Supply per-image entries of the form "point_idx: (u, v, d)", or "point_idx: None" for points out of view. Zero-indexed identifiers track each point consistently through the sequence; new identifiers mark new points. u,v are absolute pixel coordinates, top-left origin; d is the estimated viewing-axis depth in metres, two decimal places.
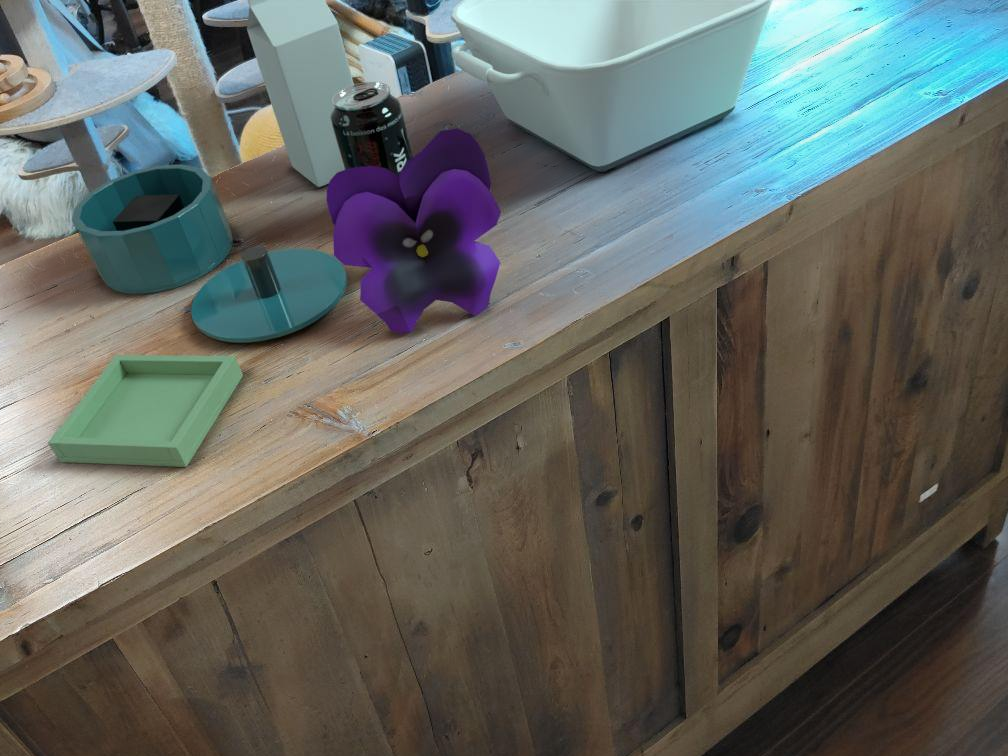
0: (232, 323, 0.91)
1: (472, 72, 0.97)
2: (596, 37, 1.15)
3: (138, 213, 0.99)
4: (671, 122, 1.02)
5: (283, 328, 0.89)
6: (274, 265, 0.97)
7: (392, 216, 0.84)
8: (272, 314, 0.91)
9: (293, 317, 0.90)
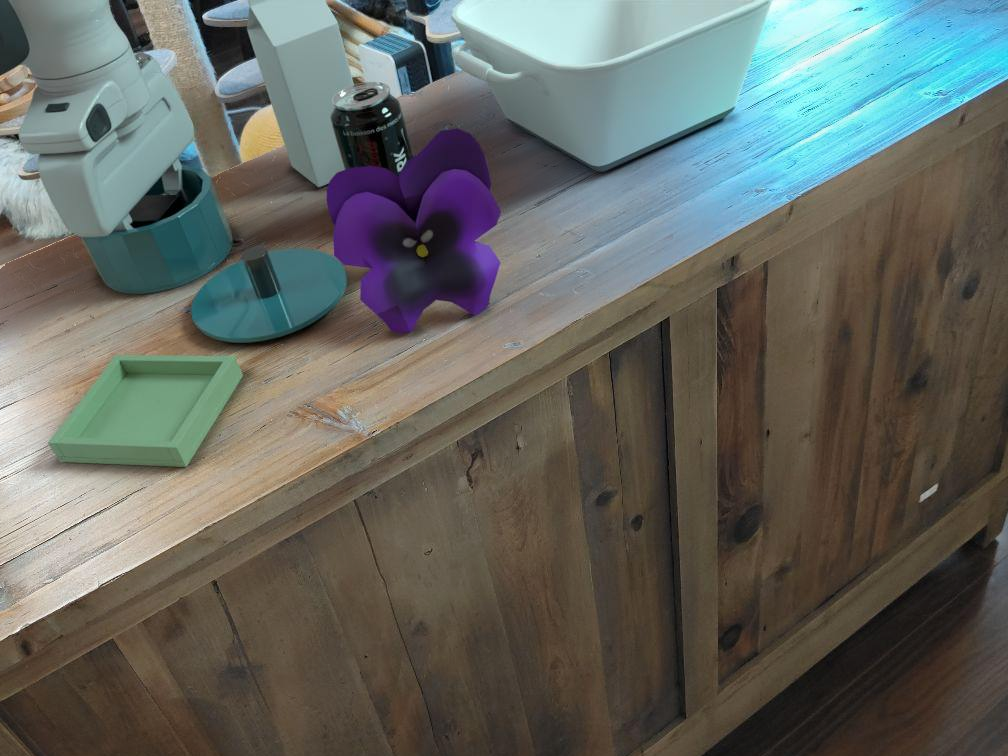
0: (232, 323, 0.91)
1: (472, 72, 0.97)
2: (596, 37, 1.15)
3: (138, 213, 0.99)
4: (671, 122, 1.02)
5: (283, 328, 0.89)
6: (274, 265, 0.97)
7: (392, 216, 0.84)
8: (272, 314, 0.91)
9: (293, 317, 0.90)
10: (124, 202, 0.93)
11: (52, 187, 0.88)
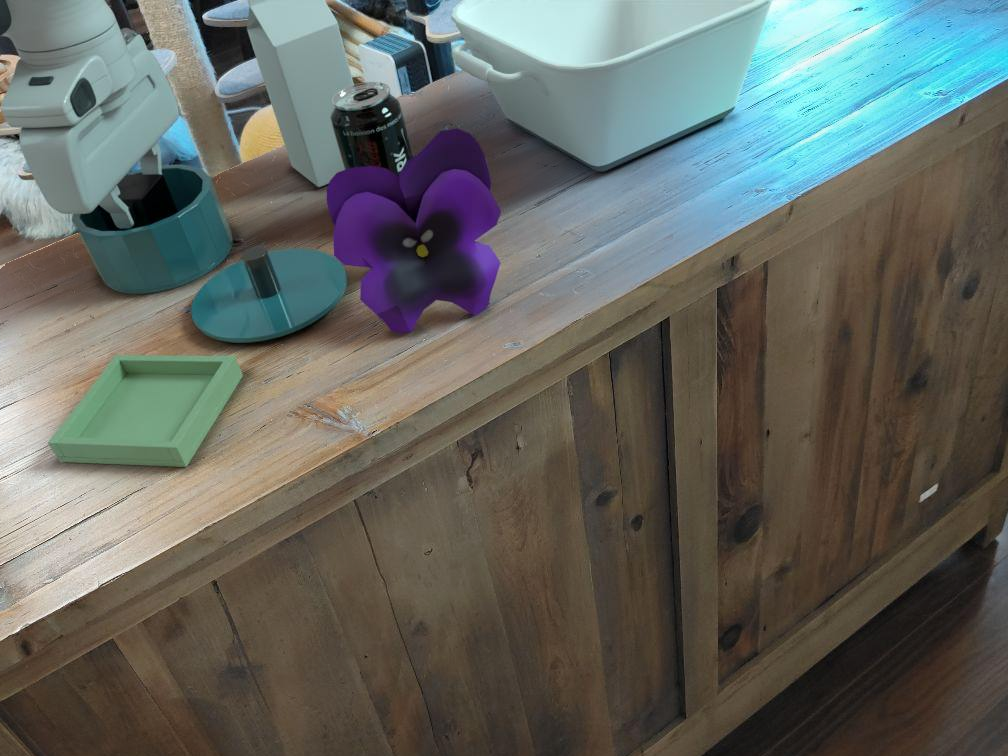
0: (232, 323, 0.91)
1: (472, 72, 0.97)
2: (596, 37, 1.15)
3: (121, 192, 0.98)
4: (671, 122, 1.02)
5: (283, 328, 0.89)
6: (274, 265, 0.97)
7: (392, 216, 0.84)
8: (272, 314, 0.91)
9: (293, 317, 0.90)
10: (107, 179, 0.92)
11: (34, 162, 0.87)
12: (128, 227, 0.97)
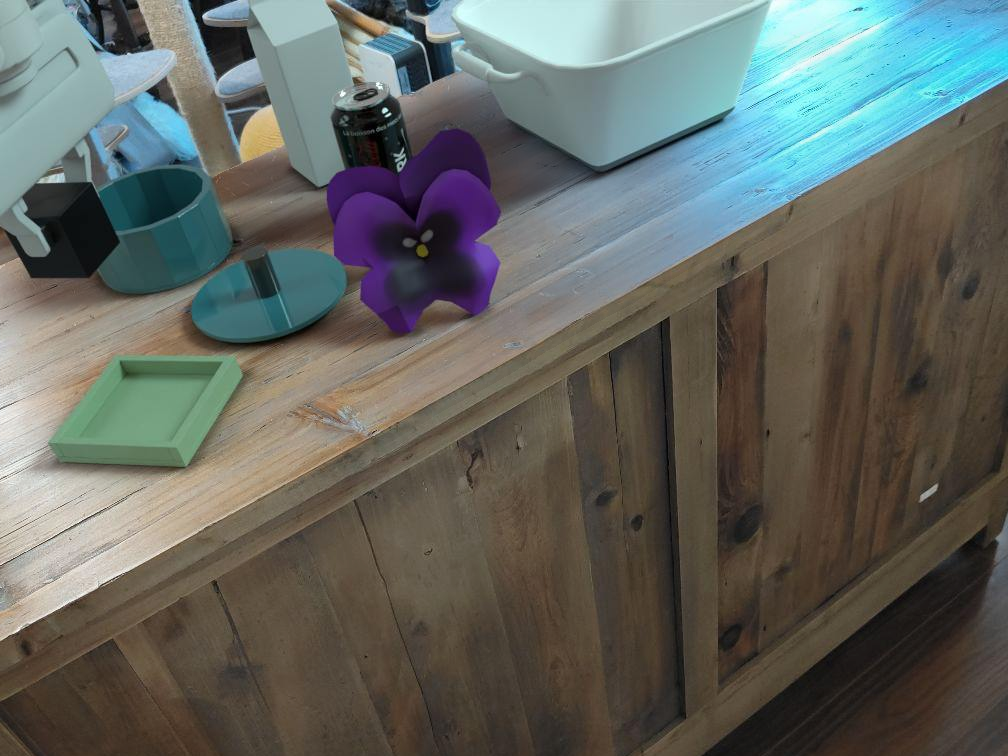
0: (232, 323, 0.91)
1: (472, 72, 0.97)
2: (596, 37, 1.15)
3: (34, 207, 0.72)
4: (671, 122, 1.02)
5: (283, 328, 0.89)
6: (274, 265, 0.97)
7: (392, 216, 0.84)
8: (272, 314, 0.91)
9: (293, 317, 0.90)
10: (4, 191, 0.66)
11: None
12: (42, 255, 0.71)
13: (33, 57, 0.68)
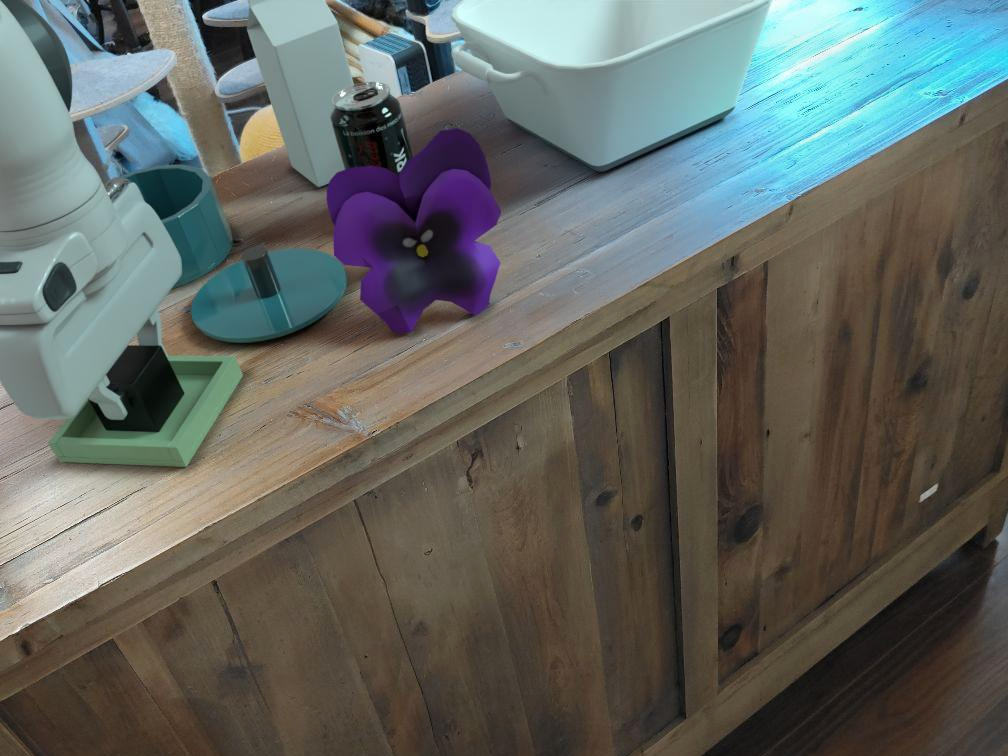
0: (232, 323, 0.91)
1: (472, 72, 0.97)
2: (596, 37, 1.15)
3: (111, 372, 0.80)
4: (671, 122, 1.02)
5: (283, 328, 0.89)
6: (274, 265, 0.97)
7: (392, 216, 0.84)
8: (272, 314, 0.91)
9: (293, 317, 0.90)
10: (93, 373, 0.74)
11: None
12: (120, 418, 0.79)
13: None
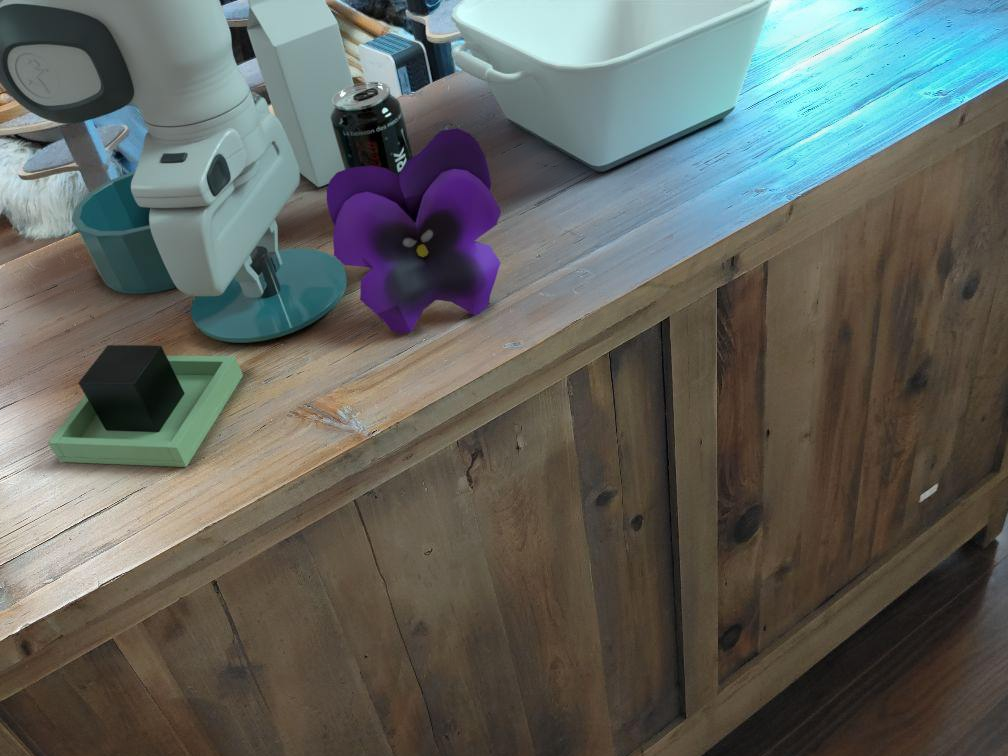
0: (232, 323, 0.91)
1: (472, 72, 0.97)
2: (596, 37, 1.15)
3: (111, 372, 0.80)
4: (671, 122, 1.02)
5: (283, 328, 0.89)
6: None
7: (393, 216, 0.84)
8: (272, 314, 0.91)
9: (293, 317, 0.90)
10: (236, 258, 0.85)
11: (164, 244, 0.80)
12: (257, 296, 0.91)
13: None
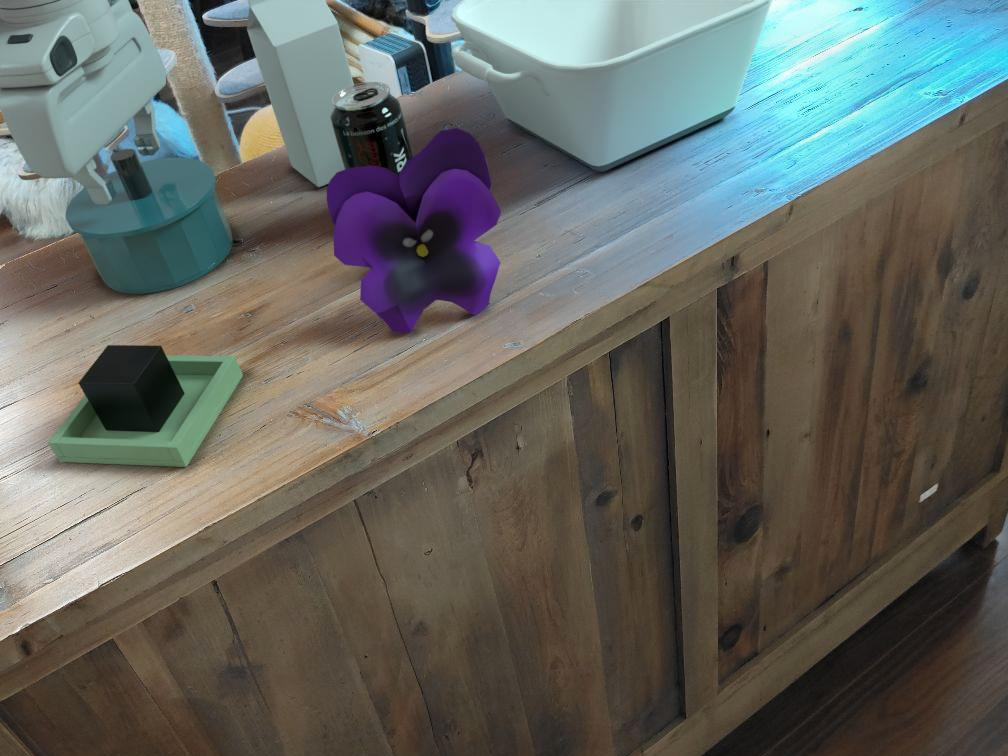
0: (101, 221, 0.95)
1: (472, 72, 0.97)
2: (596, 37, 1.15)
3: (111, 372, 0.80)
4: (671, 122, 1.02)
5: (148, 224, 0.94)
6: (150, 172, 1.01)
7: (393, 216, 0.84)
8: (140, 213, 0.95)
9: (159, 215, 0.95)
10: (90, 143, 0.89)
11: (14, 123, 0.84)
12: (106, 203, 0.93)
13: (110, 44, 0.91)
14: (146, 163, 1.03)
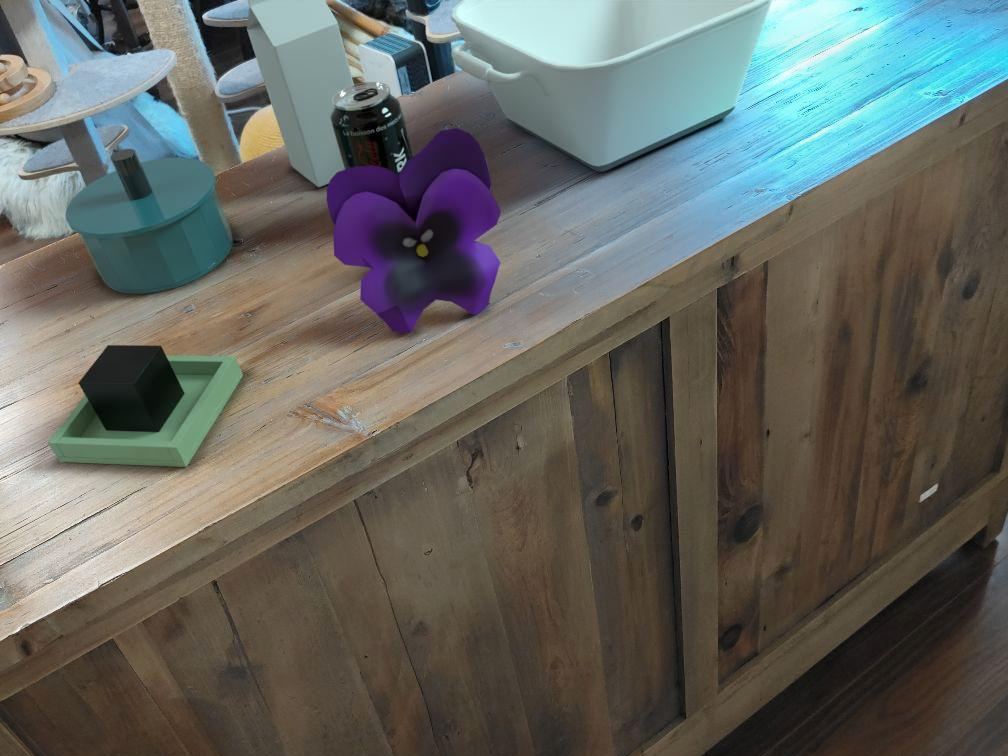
0: (101, 221, 0.95)
1: (472, 72, 0.97)
2: (596, 37, 1.15)
3: (111, 372, 0.80)
4: (671, 122, 1.02)
5: (148, 224, 0.94)
6: (150, 172, 1.01)
7: (392, 216, 0.84)
8: (140, 213, 0.95)
9: (159, 215, 0.95)
10: None
11: None
12: None
13: None
14: (146, 163, 1.03)
